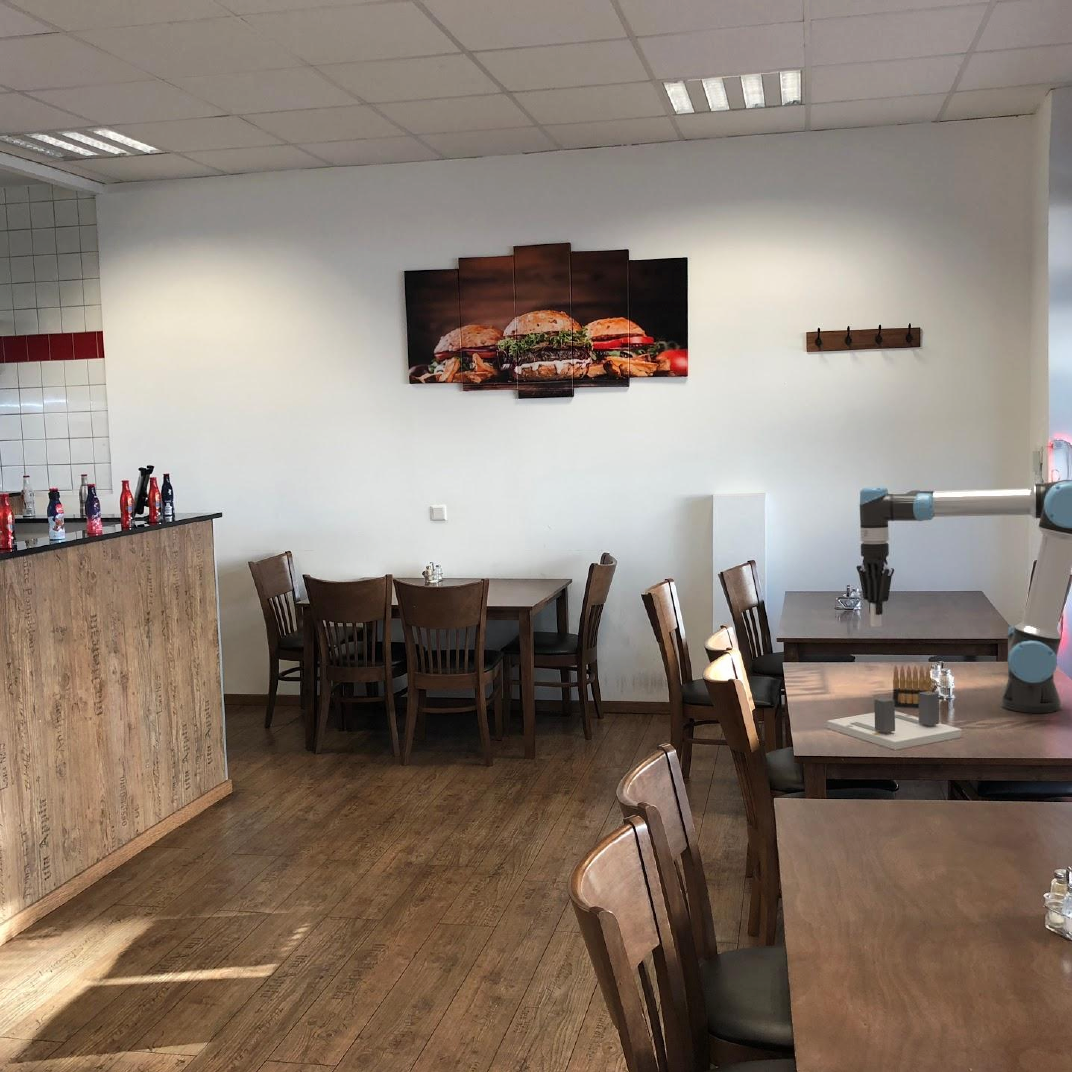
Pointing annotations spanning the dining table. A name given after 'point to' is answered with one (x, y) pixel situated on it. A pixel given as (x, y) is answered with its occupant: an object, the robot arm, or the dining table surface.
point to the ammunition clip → (910, 686)
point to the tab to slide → (928, 708)
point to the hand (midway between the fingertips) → (876, 625)
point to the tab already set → (884, 715)
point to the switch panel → (902, 737)
